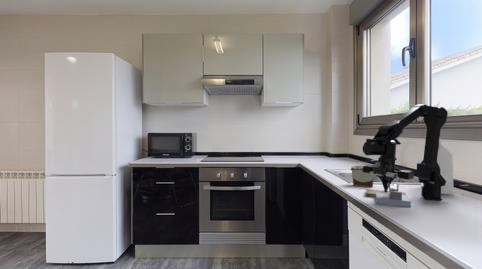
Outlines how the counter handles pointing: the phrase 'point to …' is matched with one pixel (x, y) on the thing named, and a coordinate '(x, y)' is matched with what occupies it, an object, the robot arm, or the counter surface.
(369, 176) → the food container
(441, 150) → the milk
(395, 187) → the lock bar
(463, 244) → the counter surface
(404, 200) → the grey stepped block
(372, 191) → the jamb board
